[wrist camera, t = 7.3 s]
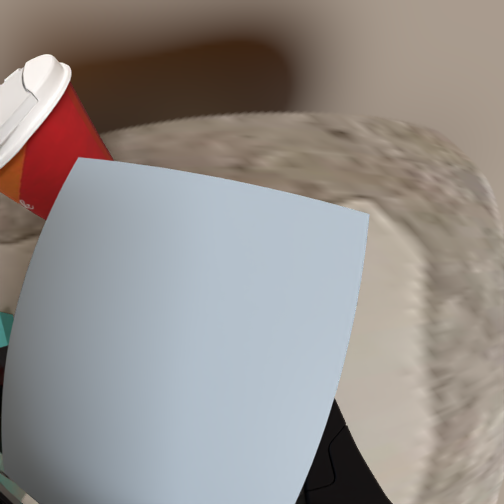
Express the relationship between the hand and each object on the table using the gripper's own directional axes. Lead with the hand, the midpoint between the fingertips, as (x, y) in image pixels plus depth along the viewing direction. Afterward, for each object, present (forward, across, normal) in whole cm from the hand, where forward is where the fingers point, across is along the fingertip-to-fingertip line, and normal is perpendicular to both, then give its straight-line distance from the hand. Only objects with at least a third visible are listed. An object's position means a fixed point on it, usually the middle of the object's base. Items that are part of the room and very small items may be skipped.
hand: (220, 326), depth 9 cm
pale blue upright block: (+4, 0, +6) cm, 7 cm away
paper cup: (+11, +13, +3) cm, 17 cm away
